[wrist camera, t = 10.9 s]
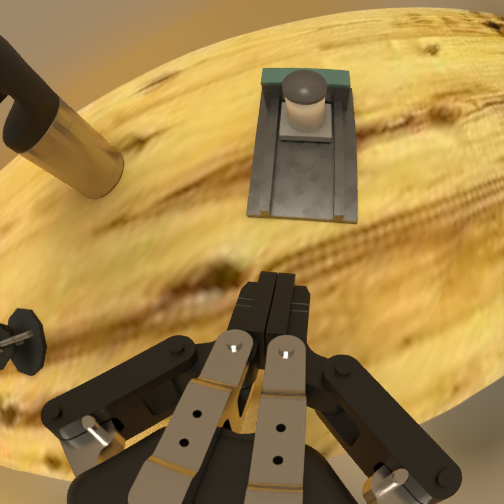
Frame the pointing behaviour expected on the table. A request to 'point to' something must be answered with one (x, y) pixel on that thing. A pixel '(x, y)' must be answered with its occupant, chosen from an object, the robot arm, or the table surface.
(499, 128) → the table surface
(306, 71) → the knob carriage
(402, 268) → the table surface
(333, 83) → the knob mount
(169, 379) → the robot arm
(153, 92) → the table surface
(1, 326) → the gun turret
